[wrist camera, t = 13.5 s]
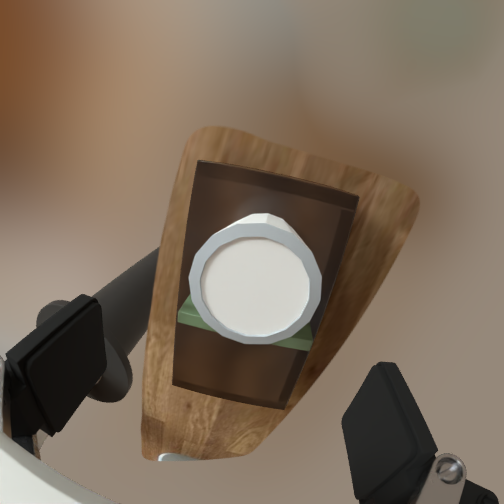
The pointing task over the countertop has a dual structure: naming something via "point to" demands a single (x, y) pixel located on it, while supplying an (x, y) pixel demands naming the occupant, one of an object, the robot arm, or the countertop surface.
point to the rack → (219, 217)
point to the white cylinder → (255, 281)
